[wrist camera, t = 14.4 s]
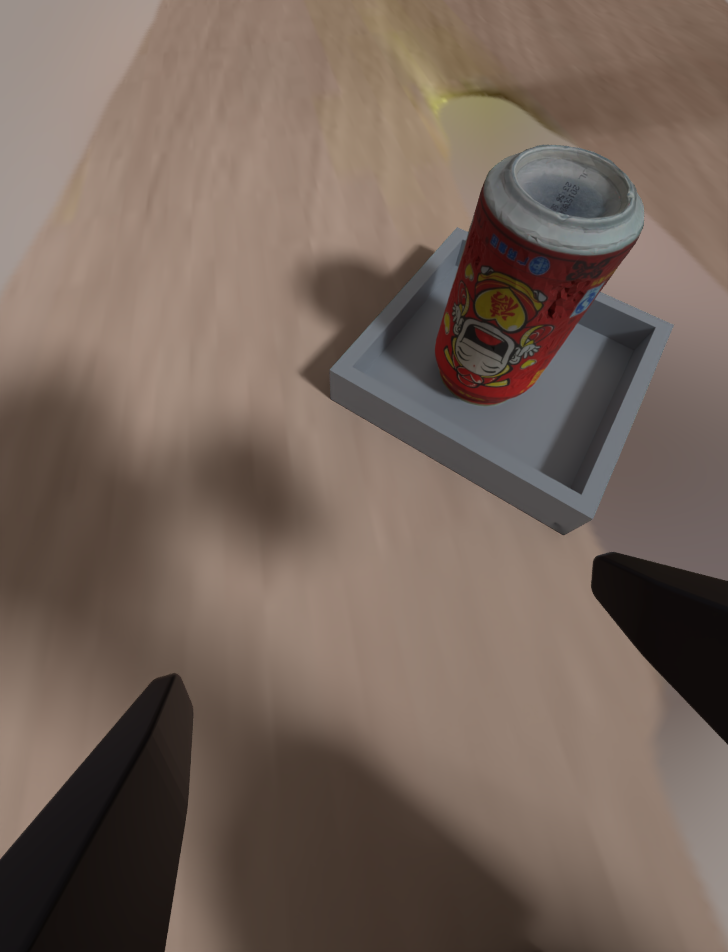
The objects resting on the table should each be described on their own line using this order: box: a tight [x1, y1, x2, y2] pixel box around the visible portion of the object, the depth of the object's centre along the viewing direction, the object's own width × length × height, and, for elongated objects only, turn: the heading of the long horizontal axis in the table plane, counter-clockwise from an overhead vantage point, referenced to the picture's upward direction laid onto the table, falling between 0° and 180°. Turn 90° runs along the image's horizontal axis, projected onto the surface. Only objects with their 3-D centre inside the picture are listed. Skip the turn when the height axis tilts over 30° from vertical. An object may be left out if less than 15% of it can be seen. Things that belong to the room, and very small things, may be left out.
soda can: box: [435, 145, 644, 406], centre depth 22 cm, size 7×7×12 cm
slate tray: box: [330, 227, 674, 535], centre depth 27 cm, size 17×17×3 cm
